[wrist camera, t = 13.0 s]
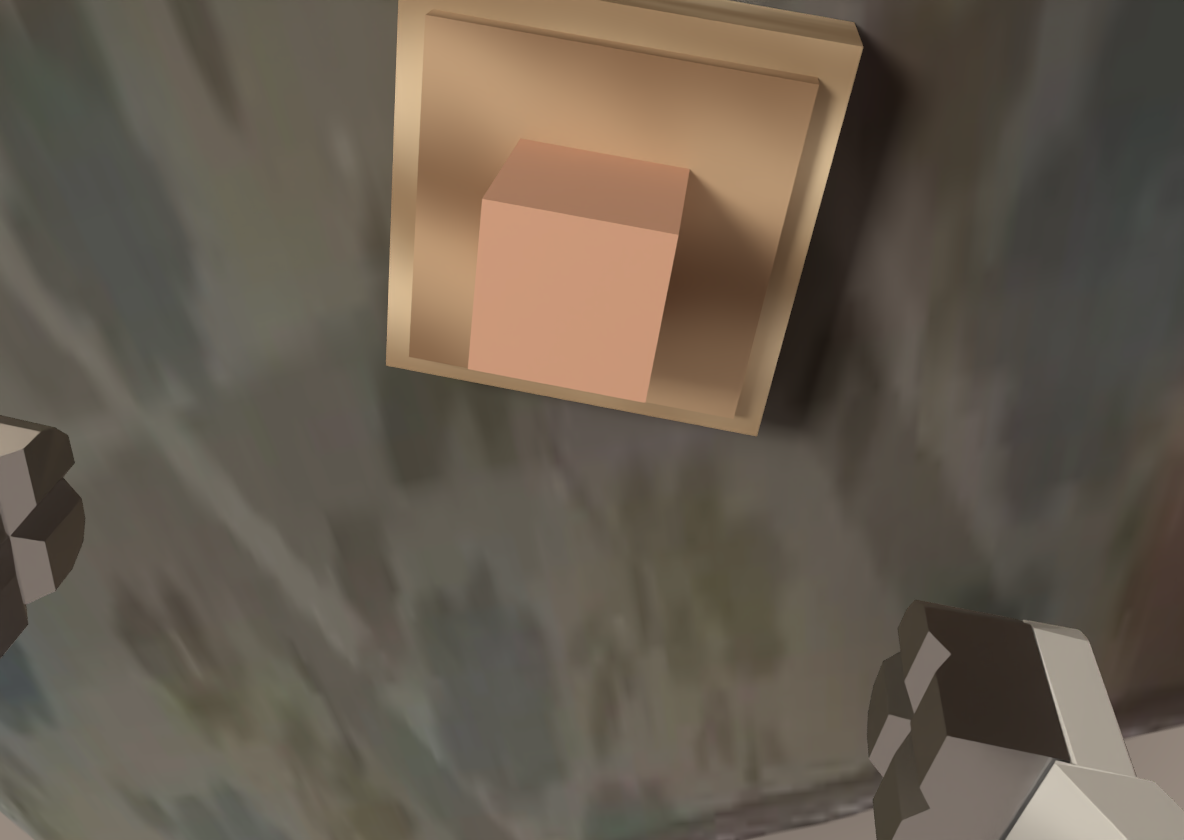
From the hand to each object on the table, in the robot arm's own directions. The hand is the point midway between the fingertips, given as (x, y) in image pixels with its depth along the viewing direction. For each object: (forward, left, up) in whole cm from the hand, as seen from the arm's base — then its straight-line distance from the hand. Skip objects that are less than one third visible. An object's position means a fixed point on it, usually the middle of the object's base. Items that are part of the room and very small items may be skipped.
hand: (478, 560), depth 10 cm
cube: (+6, -1, -22) cm, 23 cm away
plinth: (+6, -1, -26) cm, 27 cm away
